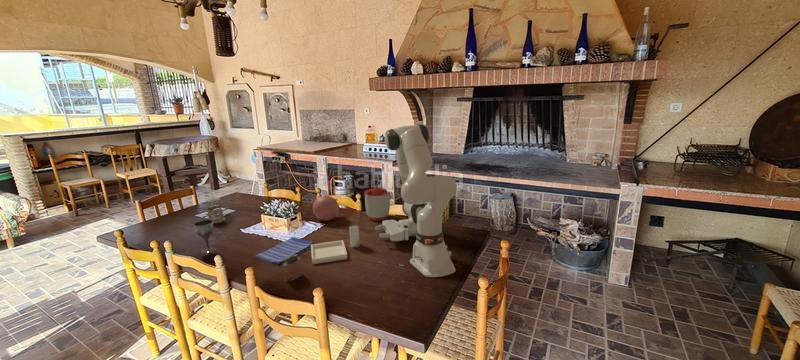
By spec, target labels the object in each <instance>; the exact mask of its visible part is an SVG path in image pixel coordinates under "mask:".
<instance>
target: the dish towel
mask: <svg viewBox="0 0 800 360" xmlns="http://www.w3.org/2000/svg"><path fill="white" fill-rule="evenodd" d="M312 244H315V241H309V240H305V239H302V238H297V237H294V236H292V237H290V238H289V239H287V240H285V241H283V242H281V243H279V244H277V245H275V246H273V247H271V248H269V249H267V250H265V251H262V252H261V253H258V254H256V255H254V258H256V259H258V258H259V259H258V260H261V259H262V260H261V261H264V262H266V263H269V262H270V263H269V264H272V263H273V265H277V266H280V265H282V264H284V263H285V262H284V259H285V258H288V257H290V255H295V254H297V255H298V256H299V255H301V254H302V253H304V252H307V251H309V250H310V249H311V245H312ZM283 262H284V263H283ZM281 263H282V264H281Z"/></svg>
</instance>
